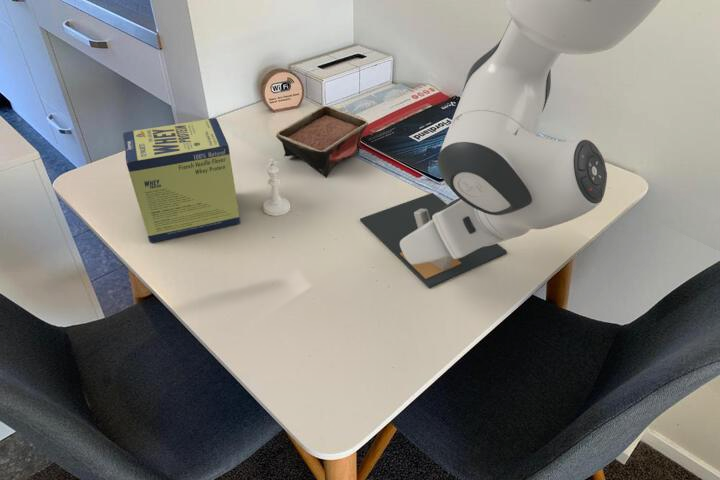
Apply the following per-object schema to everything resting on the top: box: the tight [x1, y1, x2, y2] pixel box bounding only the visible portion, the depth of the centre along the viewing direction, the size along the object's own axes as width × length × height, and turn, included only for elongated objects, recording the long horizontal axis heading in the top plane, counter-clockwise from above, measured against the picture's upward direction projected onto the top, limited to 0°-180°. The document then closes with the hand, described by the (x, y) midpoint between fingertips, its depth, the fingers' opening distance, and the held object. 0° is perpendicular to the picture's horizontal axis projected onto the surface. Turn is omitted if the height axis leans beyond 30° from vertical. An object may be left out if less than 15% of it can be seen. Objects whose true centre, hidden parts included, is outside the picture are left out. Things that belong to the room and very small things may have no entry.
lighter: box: [414, 209, 452, 271], centre depth 81 cm, size 7×2×8 cm, turn 43°
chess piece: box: [262, 158, 291, 217], centre depth 92 cm, size 5×5×10 cm
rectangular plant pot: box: [275, 105, 369, 178], centre depth 107 cm, size 14×18×10 cm
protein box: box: [122, 117, 241, 244], centre depth 88 cm, size 10×16×16 cm
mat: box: [359, 192, 508, 289], centre depth 89 cm, size 20×16×1 cm
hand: (430, 233), depth 81 cm, fingers open, 8 cm apart
